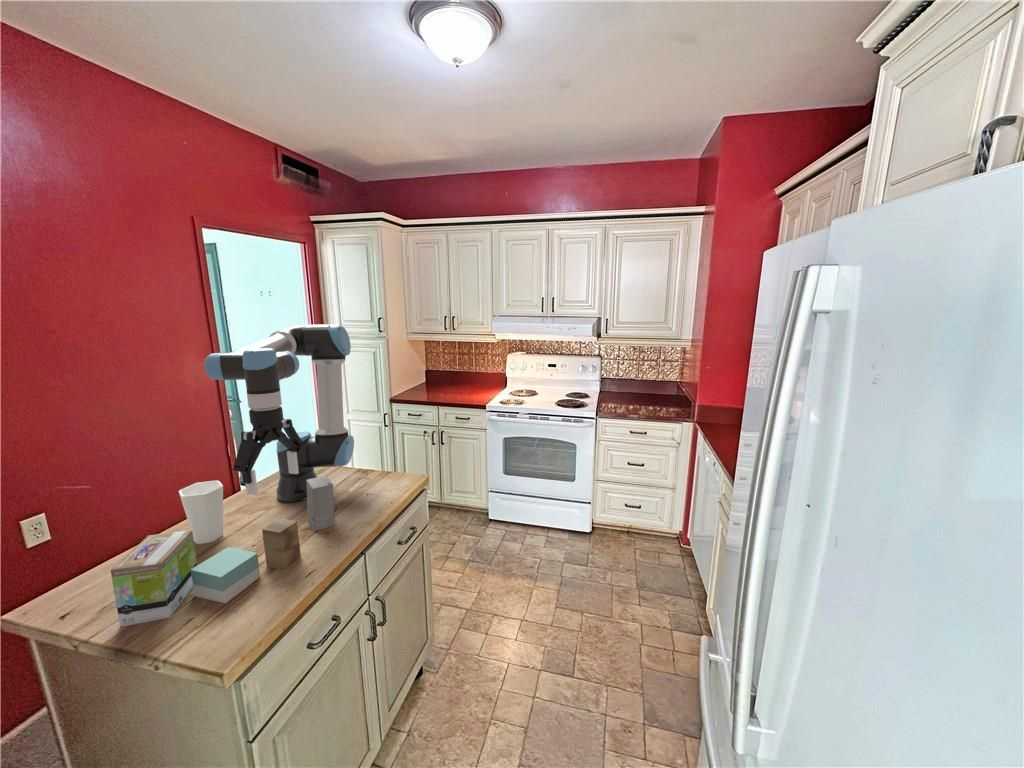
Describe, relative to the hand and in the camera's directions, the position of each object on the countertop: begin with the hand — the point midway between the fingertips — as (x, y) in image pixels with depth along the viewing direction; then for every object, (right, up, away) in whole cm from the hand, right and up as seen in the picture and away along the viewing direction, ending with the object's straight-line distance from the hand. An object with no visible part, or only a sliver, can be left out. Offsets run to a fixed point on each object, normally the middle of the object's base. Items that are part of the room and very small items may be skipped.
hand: (274, 483), depth 108 cm
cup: (-31, -22, +17) cm, 42 cm away
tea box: (-22, -27, -10) cm, 36 cm away
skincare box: (+1, -21, +25) cm, 32 cm away
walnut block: (0, -24, +5) cm, 25 cm away
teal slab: (-9, -22, -5) cm, 25 cm away
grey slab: (-9, -26, -5) cm, 28 cm away
